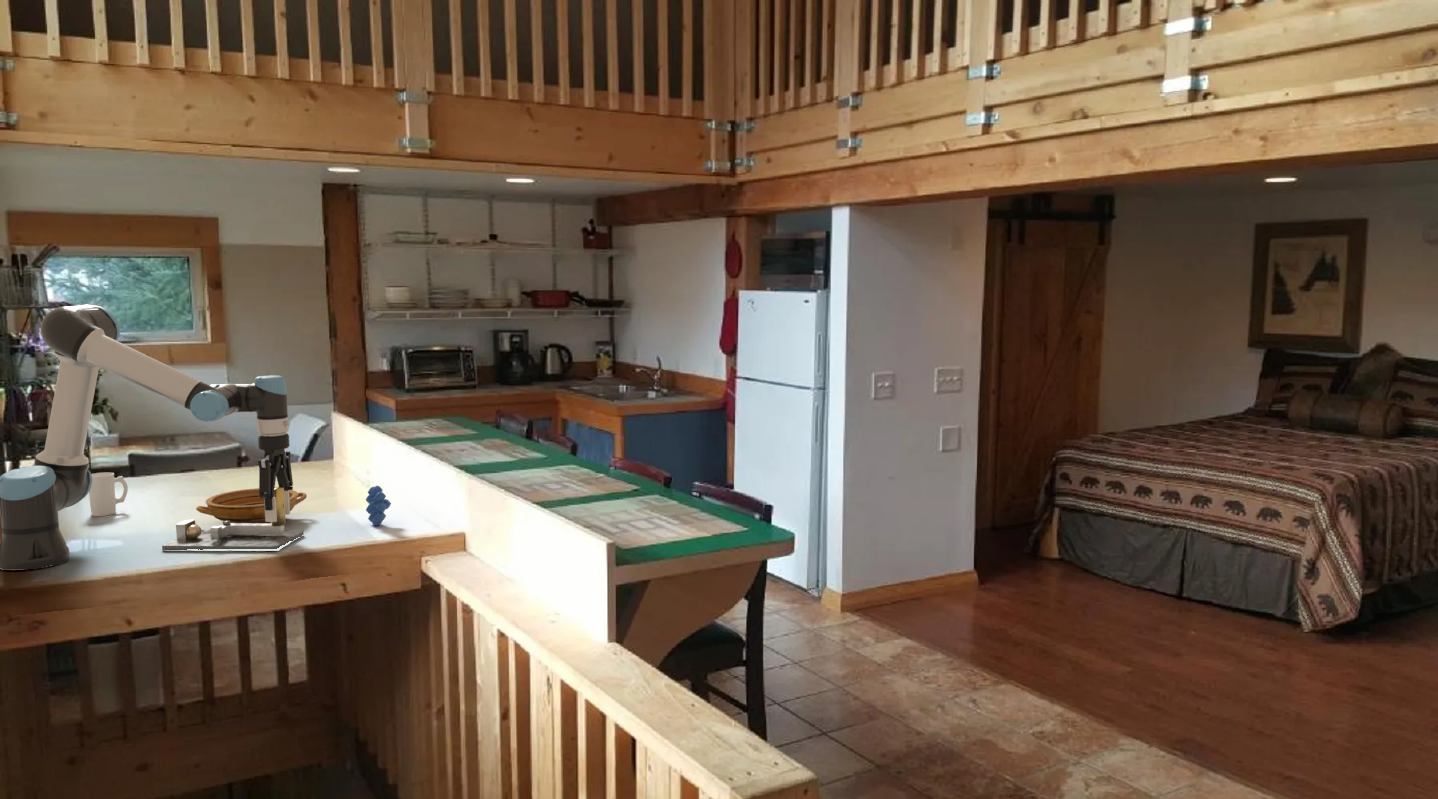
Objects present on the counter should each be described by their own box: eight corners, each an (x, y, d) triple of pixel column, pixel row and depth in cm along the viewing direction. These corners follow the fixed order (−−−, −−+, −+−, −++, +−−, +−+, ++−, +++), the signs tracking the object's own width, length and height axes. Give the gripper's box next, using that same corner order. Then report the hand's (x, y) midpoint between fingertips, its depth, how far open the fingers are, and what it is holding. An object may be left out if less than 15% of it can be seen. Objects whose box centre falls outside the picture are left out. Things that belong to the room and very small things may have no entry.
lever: (274, 540, 260) (271, 493, 258) (211, 539, 260) (208, 493, 258) (288, 532, 268) (286, 486, 266) (227, 531, 268) (224, 486, 267)
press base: (277, 552, 257) (275, 531, 256) (162, 551, 257) (161, 530, 256) (303, 535, 272) (302, 516, 272) (195, 535, 273) (194, 515, 272)
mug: (91, 517, 291) (88, 477, 290) (88, 513, 297) (85, 474, 295) (131, 512, 298) (128, 473, 296) (127, 508, 303) (124, 470, 301)
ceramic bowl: (208, 541, 267) (206, 512, 266) (187, 523, 285) (186, 496, 284) (320, 523, 286) (319, 496, 285) (294, 508, 304) (293, 482, 303)
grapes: (399, 527, 282) (397, 486, 280) (375, 531, 277) (373, 489, 276) (385, 519, 291) (383, 479, 289) (361, 523, 287) (360, 482, 285)
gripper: (269, 440, 253) (274, 527, 256) (303, 427, 273) (307, 509, 276) (240, 440, 253) (245, 527, 256) (276, 427, 273) (281, 508, 276)
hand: (278, 517), depth 266 cm, fingers open, 7 cm apart
